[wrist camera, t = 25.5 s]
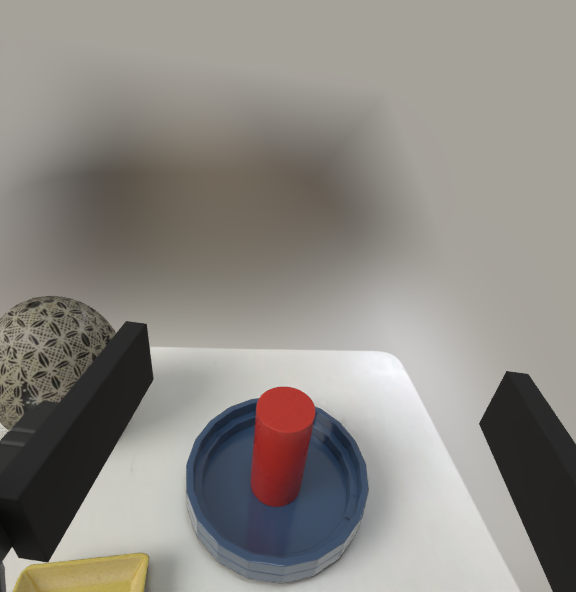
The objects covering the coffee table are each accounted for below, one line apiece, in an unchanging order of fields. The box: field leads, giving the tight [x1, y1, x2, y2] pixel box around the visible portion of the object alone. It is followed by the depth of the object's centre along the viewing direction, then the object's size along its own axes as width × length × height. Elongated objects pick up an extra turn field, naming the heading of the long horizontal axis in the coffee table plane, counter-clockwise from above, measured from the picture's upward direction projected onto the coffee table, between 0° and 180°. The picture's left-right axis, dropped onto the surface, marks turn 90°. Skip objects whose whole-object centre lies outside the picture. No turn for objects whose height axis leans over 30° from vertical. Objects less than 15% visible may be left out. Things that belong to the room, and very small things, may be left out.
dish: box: [186, 398, 369, 583], centre depth 35 cm, size 16×16×4 cm
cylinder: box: [250, 387, 316, 507], centre depth 33 cm, size 5×5×10 cm
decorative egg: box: [0, 296, 116, 431], centre depth 36 cm, size 12×12×15 cm
